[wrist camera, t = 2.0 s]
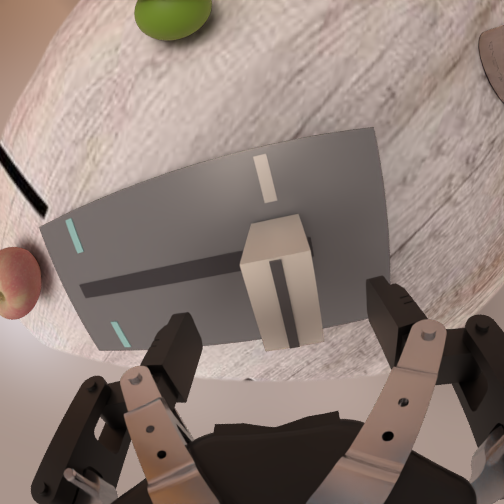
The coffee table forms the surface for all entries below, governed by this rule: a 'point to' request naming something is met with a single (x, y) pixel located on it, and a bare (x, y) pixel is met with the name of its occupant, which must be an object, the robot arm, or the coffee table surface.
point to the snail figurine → (171, 17)
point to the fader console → (223, 239)
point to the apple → (18, 282)
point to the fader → (282, 283)
